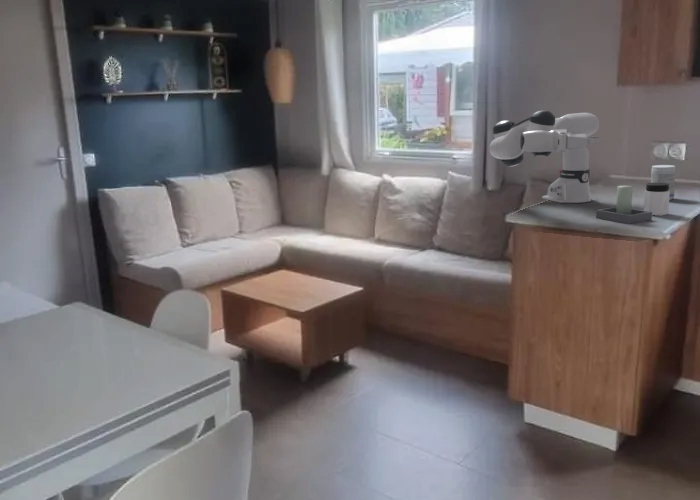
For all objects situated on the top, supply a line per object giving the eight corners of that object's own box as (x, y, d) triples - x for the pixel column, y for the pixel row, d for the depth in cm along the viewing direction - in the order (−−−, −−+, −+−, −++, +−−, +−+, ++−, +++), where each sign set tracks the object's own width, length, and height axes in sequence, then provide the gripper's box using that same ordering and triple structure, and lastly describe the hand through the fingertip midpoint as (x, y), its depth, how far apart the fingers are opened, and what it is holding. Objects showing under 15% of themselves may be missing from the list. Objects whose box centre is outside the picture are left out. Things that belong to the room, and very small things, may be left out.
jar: (658, 216, 253) (660, 186, 250) (639, 214, 260) (641, 184, 257) (672, 213, 258) (674, 183, 255) (652, 211, 265) (654, 181, 262)
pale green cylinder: (612, 217, 253) (614, 186, 251) (622, 215, 256) (624, 185, 253) (624, 219, 249) (625, 188, 246) (633, 217, 251) (635, 186, 248)
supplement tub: (678, 198, 289) (680, 165, 285) (666, 201, 284) (668, 167, 280) (657, 196, 297) (659, 164, 293) (645, 199, 291) (647, 166, 288)
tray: (595, 217, 257) (596, 210, 256) (617, 214, 262) (618, 206, 261) (629, 223, 243) (629, 215, 242) (651, 219, 248) (652, 211, 247)
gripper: (562, 146, 269) (597, 145, 265) (561, 151, 250) (599, 150, 246) (562, 130, 268) (598, 130, 263) (561, 134, 249) (600, 133, 244)
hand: (599, 139), depth 254 cm, fingers open, 8 cm apart
